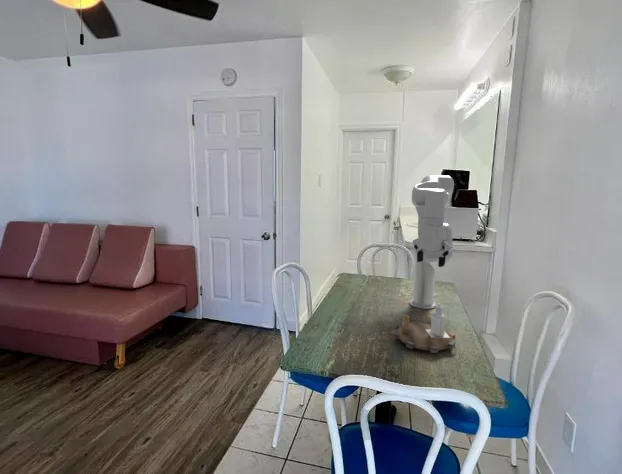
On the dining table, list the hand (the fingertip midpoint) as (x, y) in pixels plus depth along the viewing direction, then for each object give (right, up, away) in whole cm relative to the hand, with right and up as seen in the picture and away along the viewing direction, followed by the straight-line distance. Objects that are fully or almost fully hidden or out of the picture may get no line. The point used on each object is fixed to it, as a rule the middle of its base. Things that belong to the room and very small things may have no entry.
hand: (430, 263), depth 141 cm
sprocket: (-4, -28, -6) cm, 29 cm away
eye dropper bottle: (0, -26, -7) cm, 27 cm away
